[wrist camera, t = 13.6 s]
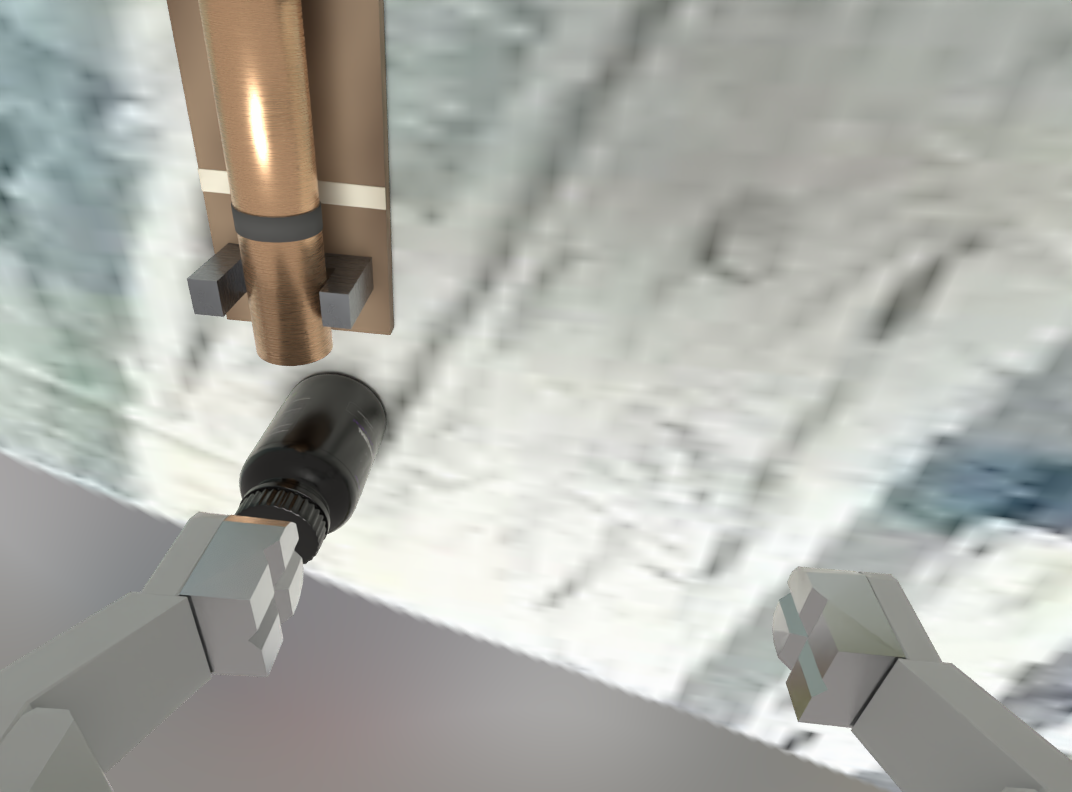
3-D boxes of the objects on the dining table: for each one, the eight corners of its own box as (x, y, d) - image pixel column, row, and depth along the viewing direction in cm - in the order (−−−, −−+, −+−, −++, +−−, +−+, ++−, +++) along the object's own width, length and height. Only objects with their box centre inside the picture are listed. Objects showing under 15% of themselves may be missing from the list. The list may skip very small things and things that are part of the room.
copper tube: (172, -171, 25) (160, -184, 22) (286, -154, 27) (289, -164, 23) (255, 331, 38) (255, 369, 34) (331, 326, 39) (336, 362, 36)
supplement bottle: (408, 415, 45) (365, 545, 35) (347, 465, 48) (291, 599, 38) (329, 350, 43) (258, 471, 33) (268, 407, 45) (185, 535, 35)
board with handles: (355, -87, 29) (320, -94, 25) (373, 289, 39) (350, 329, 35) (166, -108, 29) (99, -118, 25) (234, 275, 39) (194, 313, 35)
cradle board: (378, -170, 28) (371, -174, 27) (393, 327, 41) (389, 335, 41) (141, -198, 28) (127, -203, 27) (234, 311, 41) (226, 319, 40)
